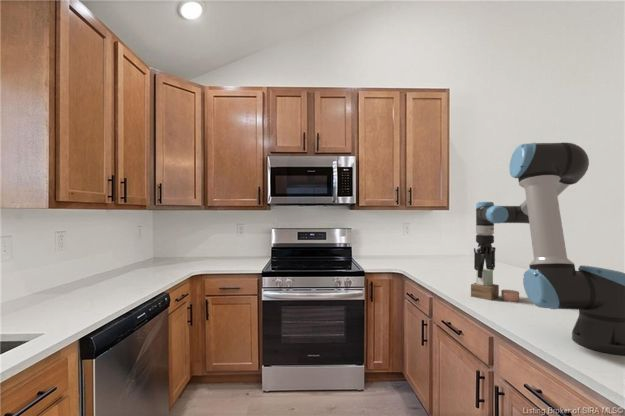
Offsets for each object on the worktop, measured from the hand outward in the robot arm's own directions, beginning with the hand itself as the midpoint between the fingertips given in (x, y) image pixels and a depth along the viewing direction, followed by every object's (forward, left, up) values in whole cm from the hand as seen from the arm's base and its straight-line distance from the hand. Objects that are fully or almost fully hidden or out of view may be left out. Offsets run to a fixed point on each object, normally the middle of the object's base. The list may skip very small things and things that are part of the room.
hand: (484, 283), depth 158 cm
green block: (0, 0, 0) cm, 0 cm away
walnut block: (0, 0, -6) cm, 6 cm away
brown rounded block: (+5, -9, -6) cm, 12 cm away
